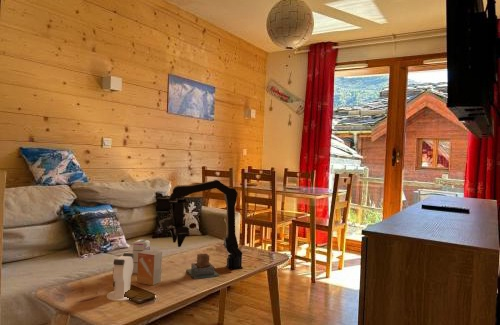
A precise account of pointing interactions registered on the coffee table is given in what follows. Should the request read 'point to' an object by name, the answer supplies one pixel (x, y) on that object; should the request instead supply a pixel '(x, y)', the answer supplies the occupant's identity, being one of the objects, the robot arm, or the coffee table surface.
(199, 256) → the peg
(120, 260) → the white piece
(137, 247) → the syrup box
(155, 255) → the small box
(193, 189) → the robot arm
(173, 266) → the coffee table surface
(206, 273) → the socket
